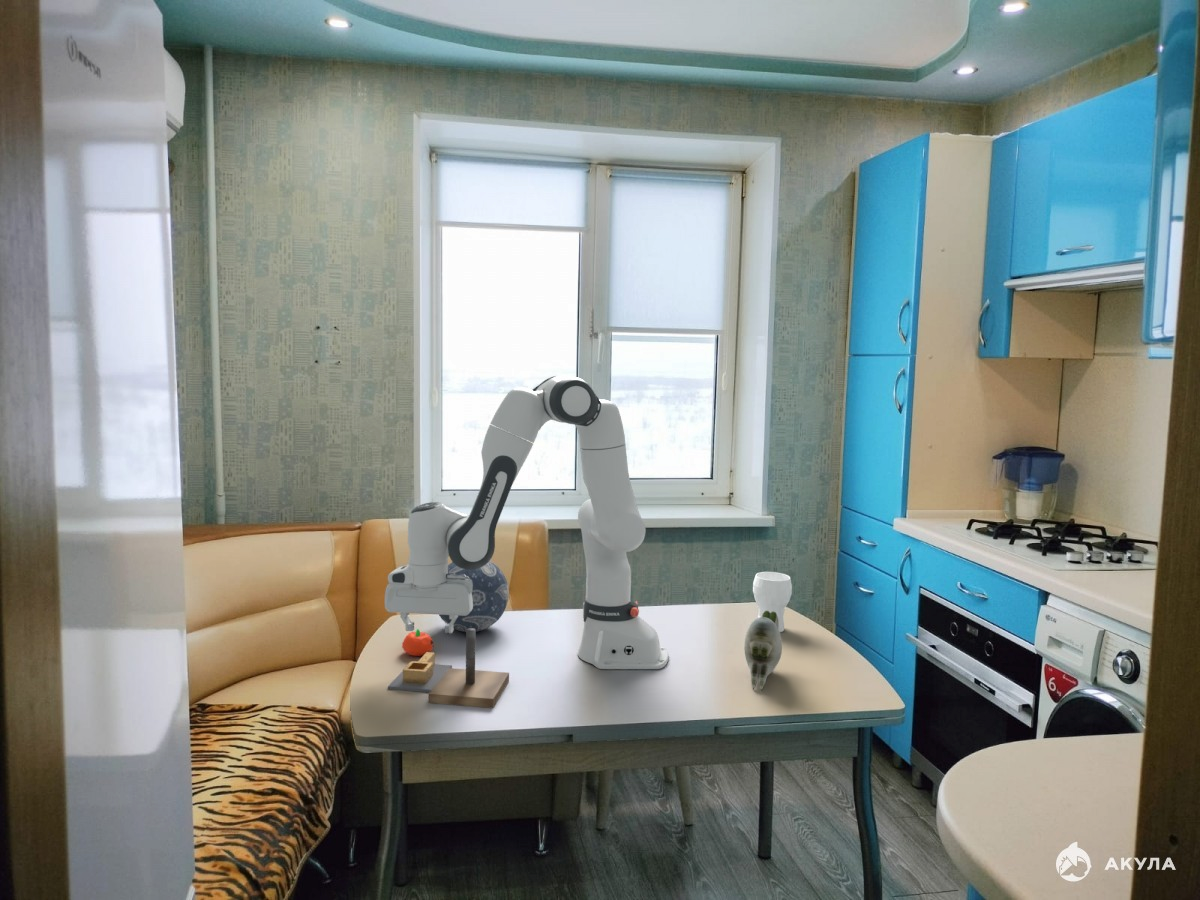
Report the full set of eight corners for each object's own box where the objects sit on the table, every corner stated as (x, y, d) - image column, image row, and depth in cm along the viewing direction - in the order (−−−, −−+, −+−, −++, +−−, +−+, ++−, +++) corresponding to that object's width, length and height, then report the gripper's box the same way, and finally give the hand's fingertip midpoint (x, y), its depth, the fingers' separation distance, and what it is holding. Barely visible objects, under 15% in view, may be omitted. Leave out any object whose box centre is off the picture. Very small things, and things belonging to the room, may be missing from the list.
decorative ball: (516, 621, 216) (517, 551, 214) (496, 646, 196) (497, 569, 194) (448, 615, 219) (448, 546, 217) (421, 640, 199) (422, 564, 197)
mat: (451, 667, 182) (451, 665, 181) (431, 692, 168) (431, 689, 168) (411, 664, 183) (411, 662, 183) (387, 688, 169) (387, 686, 169)
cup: (793, 635, 211) (796, 582, 209) (754, 634, 211) (757, 580, 209) (784, 622, 221) (787, 571, 219) (747, 621, 221) (750, 570, 220)
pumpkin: (421, 646, 195) (421, 621, 194) (438, 655, 189) (439, 629, 189) (396, 652, 190) (396, 627, 189) (413, 662, 184) (413, 636, 184)
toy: (776, 695, 172) (785, 660, 191) (779, 630, 170) (788, 601, 189) (738, 689, 175) (750, 655, 194) (740, 624, 173) (753, 597, 192)
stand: (508, 681, 175) (509, 621, 173) (493, 708, 161) (494, 643, 160) (449, 676, 176) (449, 617, 175) (428, 702, 163) (428, 638, 161)
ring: (441, 665, 181) (441, 653, 181) (425, 684, 170) (425, 671, 170) (420, 663, 182) (420, 651, 182) (402, 682, 171) (402, 669, 171)
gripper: (476, 571, 179) (477, 628, 180) (391, 567, 181) (393, 624, 183) (468, 578, 172) (469, 638, 174) (380, 575, 175) (382, 633, 176)
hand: (429, 631), depth 178 cm, fingers open, 8 cm apart
